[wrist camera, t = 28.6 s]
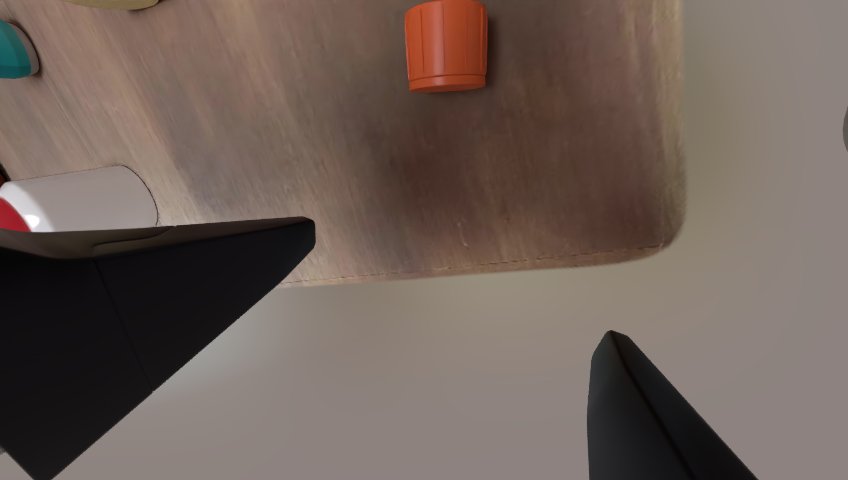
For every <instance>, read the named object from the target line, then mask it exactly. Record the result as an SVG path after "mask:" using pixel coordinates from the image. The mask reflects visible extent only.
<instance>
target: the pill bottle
mask: <svg viewBox="0 0 848 480" xmlns="http://www.w3.org/2000/svg"><path fill="white" fill-rule="evenodd" d="M156 222H157V210H156V206H155V203H154V200H153V198H152V196H151V194H150V192H149V190H148V189H147V187H146V186H145V184H144V183H143V182H142V181H141V179H140V178H139V177H138V176H137V175H136V174H135V173H134V172H132V171H131V170H130V169H128V168H126V167H124V166H121V165H116V166H109V167H103V168H96V169H89V170H82V171H76V172H69V173H62V174H55V175H49V176H42V177H35V178H28V179H22V180H15V181H9V182H6V183H4V184H3V185H2V186H1V188H0V228H4V229H9V230H16V231H25V232H60V231H85V230H110V229H131V228H147V227H154V226H155V224H156Z"/></svg>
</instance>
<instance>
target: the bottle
mask: <svg viewBox="0 0 848 480" xmlns="http://www.w3.org/2000/svg"><path fill="white" fill-rule="evenodd" d="M62 1H65V2H69V3H73V4H77V5H82V6H87V7H94V8H102V9H115V10H132V9H142V8H147V7H150V6H153V5H155V4H156V3H157V2H158V0H62Z"/></svg>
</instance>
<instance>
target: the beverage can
mask: <svg viewBox="0 0 848 480" xmlns="http://www.w3.org/2000/svg"><path fill="white" fill-rule="evenodd" d="M38 70H39V62H38V58H37V55H36V52H35V50H34V48H33V46H32V44H31V42H30V40H29V39H28V37H27V36H26V35H25V34H24V32H23V31H22V30H21V29H19V28H18V27H16V26H15V25H13V24H10V23H8V22H5V21H3V20H0V78H10V79H16V78H21V77H25V76H29V75H32V74H35V73H37V72H38Z"/></svg>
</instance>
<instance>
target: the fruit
mask: <svg viewBox="0 0 848 480" xmlns="http://www.w3.org/2000/svg"><path fill="white" fill-rule="evenodd" d="M4 183H5V179H4V177H3V176H2V174H1V173H0V188H1V186H2V185H3V184H4Z"/></svg>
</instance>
